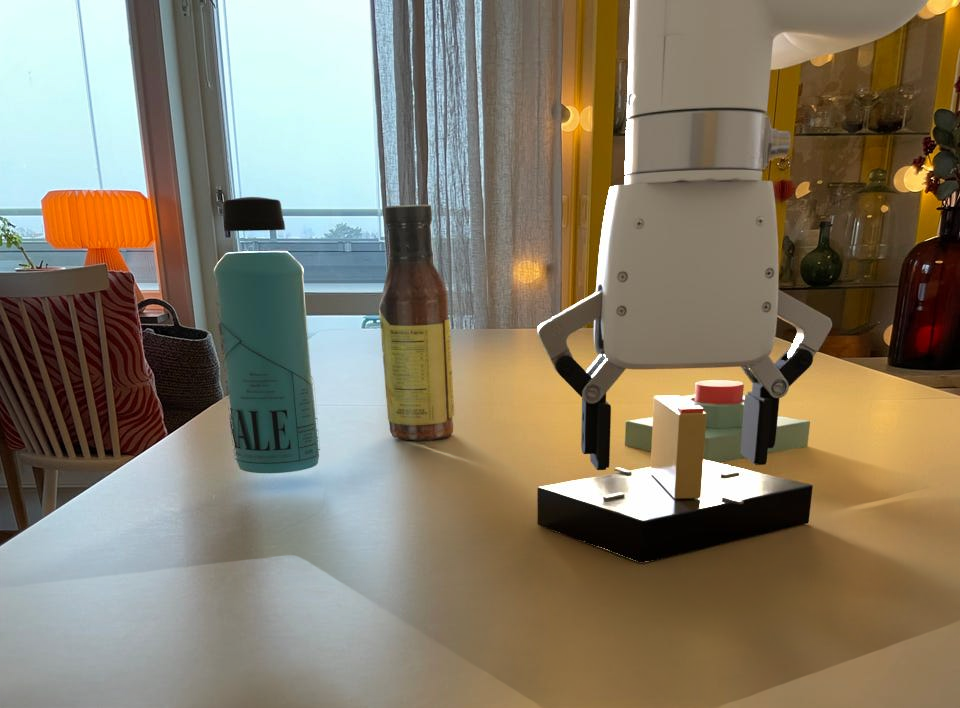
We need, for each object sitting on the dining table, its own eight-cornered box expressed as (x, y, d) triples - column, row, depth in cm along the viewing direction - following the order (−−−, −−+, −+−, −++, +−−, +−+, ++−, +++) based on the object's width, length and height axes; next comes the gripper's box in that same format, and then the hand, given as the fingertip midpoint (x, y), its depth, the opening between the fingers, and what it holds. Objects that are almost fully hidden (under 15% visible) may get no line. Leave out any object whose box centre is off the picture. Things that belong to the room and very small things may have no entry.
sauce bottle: (416, 428, 95) (406, 206, 87) (468, 434, 91) (462, 204, 84) (372, 439, 90) (358, 205, 82) (425, 446, 87) (415, 202, 79)
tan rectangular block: (650, 473, 64) (654, 391, 62) (674, 472, 64) (678, 391, 62) (674, 499, 57) (679, 409, 55) (701, 498, 57) (707, 408, 55)
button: (717, 399, 85) (719, 378, 84) (752, 404, 82) (754, 383, 81) (684, 403, 83) (685, 382, 82) (718, 409, 80) (720, 387, 79)
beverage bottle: (315, 471, 78) (292, 198, 70) (330, 489, 72) (306, 194, 64) (233, 478, 76) (199, 199, 68) (241, 498, 70) (206, 195, 62)
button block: (722, 430, 91) (725, 386, 89) (807, 446, 83) (813, 399, 81) (624, 446, 85) (625, 399, 83) (706, 465, 77) (710, 414, 76)
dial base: (690, 491, 69) (692, 454, 68) (816, 525, 61) (821, 484, 60) (531, 523, 62) (531, 482, 61) (648, 567, 54) (650, 520, 53)
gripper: (822, 158, 57) (792, 447, 64) (531, 164, 57) (531, 455, 63) (876, 147, 50) (836, 472, 57) (545, 153, 50) (544, 481, 56)
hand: (676, 463), depth 60 cm, fingers open, 9 cm apart
